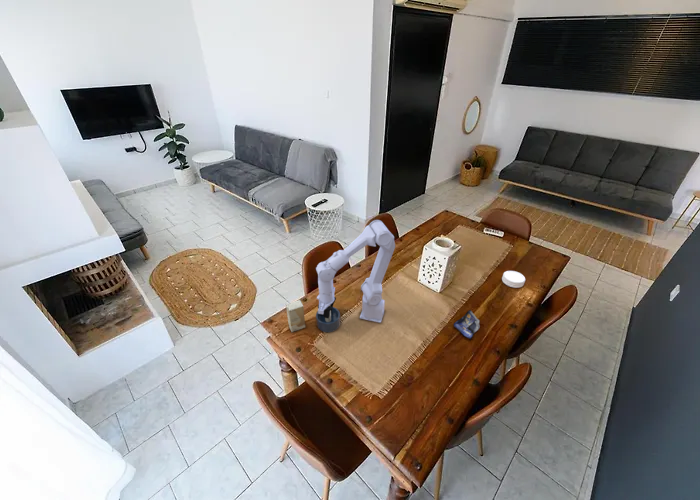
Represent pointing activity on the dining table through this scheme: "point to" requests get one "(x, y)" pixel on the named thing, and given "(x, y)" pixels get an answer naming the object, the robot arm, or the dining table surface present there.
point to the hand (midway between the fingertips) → (327, 314)
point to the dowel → (328, 318)
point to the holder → (330, 325)
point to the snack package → (467, 324)
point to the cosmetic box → (295, 315)
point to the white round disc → (513, 279)
